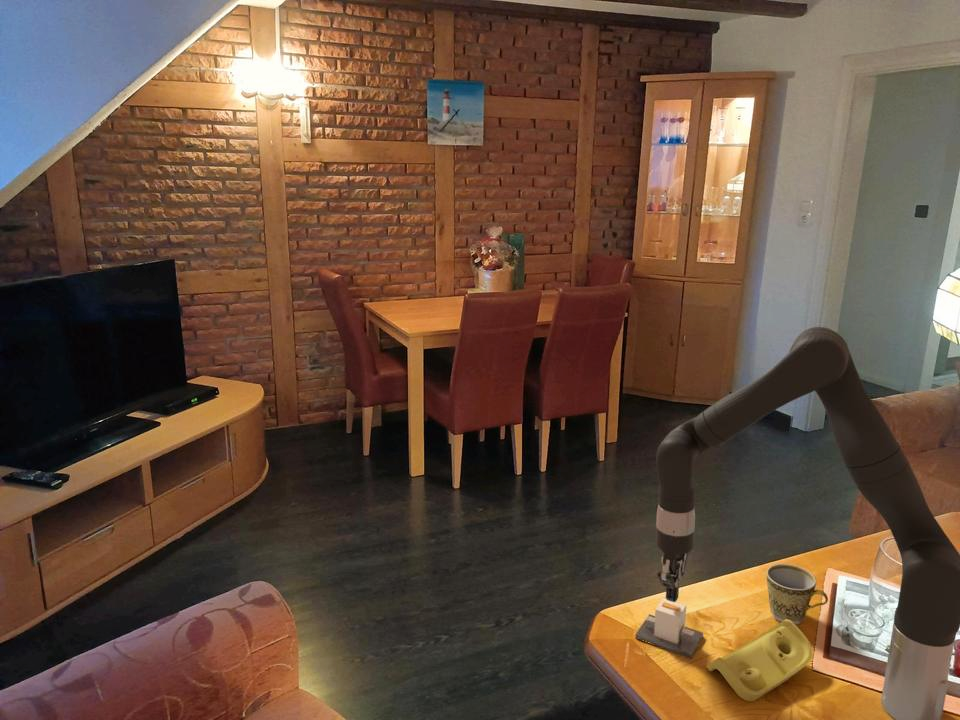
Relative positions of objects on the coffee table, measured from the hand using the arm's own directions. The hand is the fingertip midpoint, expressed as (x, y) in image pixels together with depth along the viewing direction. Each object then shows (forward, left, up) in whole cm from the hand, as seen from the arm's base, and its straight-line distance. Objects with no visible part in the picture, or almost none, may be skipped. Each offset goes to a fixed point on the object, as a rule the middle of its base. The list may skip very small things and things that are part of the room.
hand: (672, 599), depth 146 cm
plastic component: (-19, +1, -10) cm, 21 cm away
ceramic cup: (-21, -20, -10) cm, 31 cm away
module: (0, 0, -9) cm, 9 cm away
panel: (0, 0, -10) cm, 10 cm away
